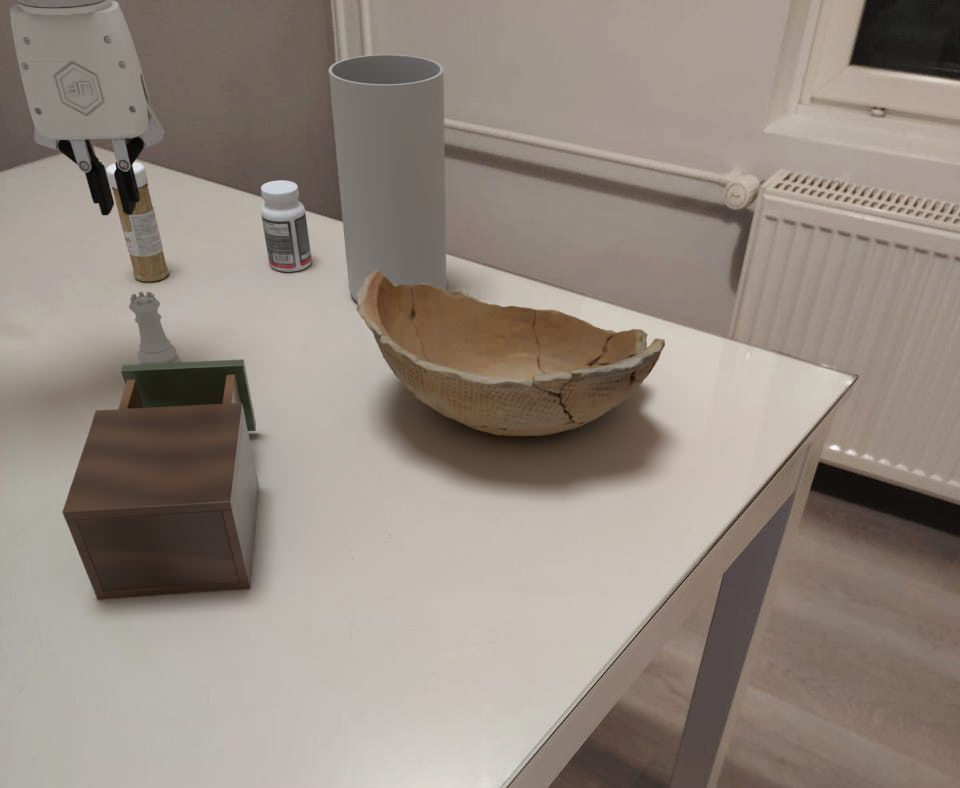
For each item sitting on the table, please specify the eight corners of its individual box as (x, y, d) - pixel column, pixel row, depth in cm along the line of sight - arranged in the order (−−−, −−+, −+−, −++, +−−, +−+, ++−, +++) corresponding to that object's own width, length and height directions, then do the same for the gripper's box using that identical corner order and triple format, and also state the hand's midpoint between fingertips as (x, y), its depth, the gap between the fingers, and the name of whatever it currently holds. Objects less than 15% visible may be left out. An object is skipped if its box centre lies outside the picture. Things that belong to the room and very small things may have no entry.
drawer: (148, 406, 94) (130, 341, 89) (258, 400, 95) (246, 336, 90) (121, 512, 82) (98, 443, 76) (248, 504, 83) (234, 436, 77)
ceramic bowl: (638, 330, 105) (656, 207, 93) (657, 500, 90) (681, 381, 78) (384, 330, 106) (368, 209, 94) (361, 499, 91) (338, 381, 79)
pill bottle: (299, 252, 124) (289, 175, 117) (319, 266, 121) (310, 188, 114) (261, 262, 122) (249, 184, 115) (281, 276, 119) (269, 198, 111)
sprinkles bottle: (131, 272, 119) (102, 162, 109) (166, 266, 120) (140, 157, 111) (138, 285, 116) (108, 174, 107) (173, 279, 118) (147, 169, 108)
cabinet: (123, 494, 85) (95, 410, 78) (258, 486, 86) (242, 402, 80) (96, 599, 75) (61, 512, 68) (250, 588, 76) (230, 501, 69)
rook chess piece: (188, 362, 103) (172, 294, 97) (159, 378, 100) (140, 309, 94) (161, 351, 104) (143, 283, 98) (131, 367, 102) (111, 298, 96)
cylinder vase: (337, 309, 112) (313, 81, 94) (364, 268, 121) (346, 51, 103) (435, 319, 111) (429, 88, 93) (455, 276, 119) (453, 58, 101)
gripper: (-48, -4, 73) (29, 227, 87) (148, -6, 75) (195, 222, 88) (-23, -22, 79) (46, 198, 92) (160, -24, 80) (203, 194, 93)
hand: (119, 208), depth 90 cm, fingers closed
